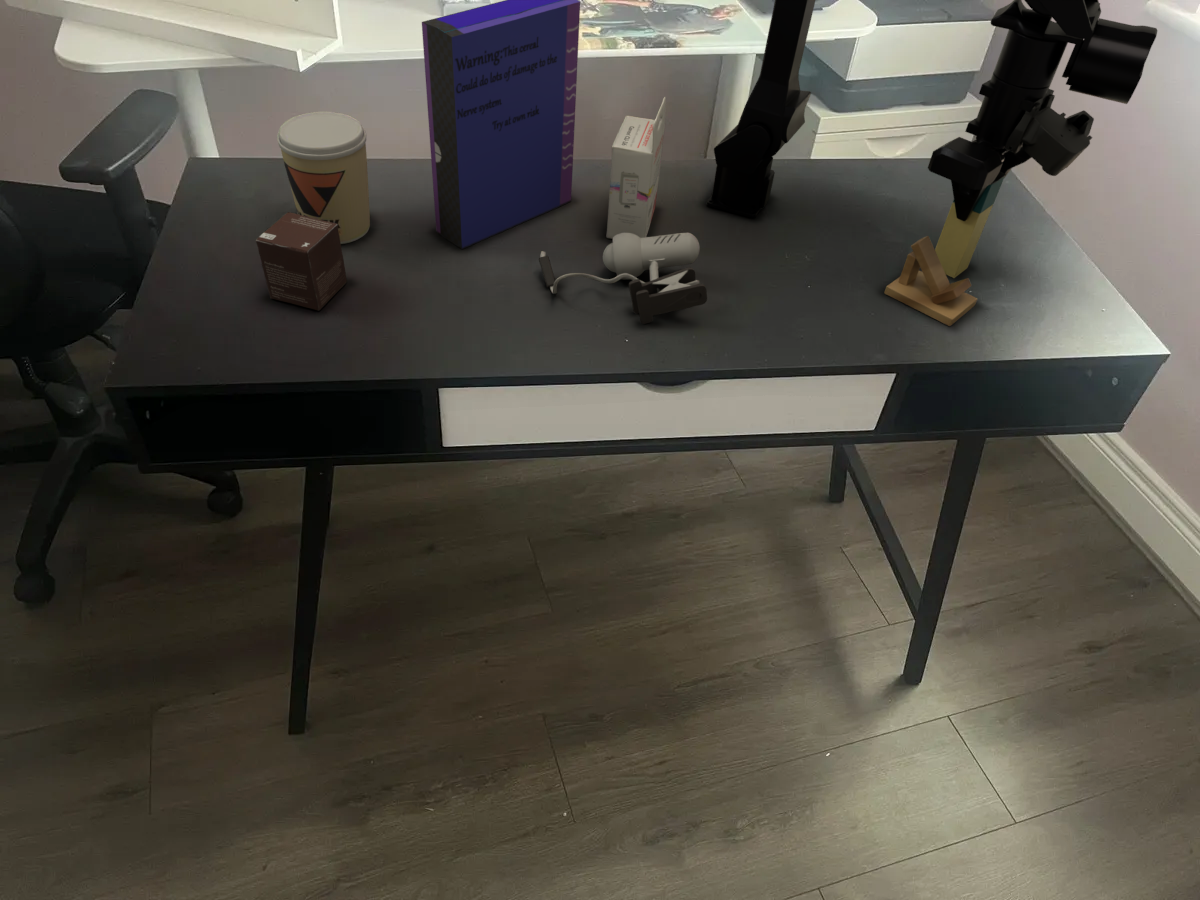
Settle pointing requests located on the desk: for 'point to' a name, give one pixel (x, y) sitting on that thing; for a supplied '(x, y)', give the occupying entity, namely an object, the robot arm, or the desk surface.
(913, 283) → the tan wooden stand
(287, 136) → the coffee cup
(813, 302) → the desk surface
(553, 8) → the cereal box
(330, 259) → the box
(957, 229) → the two-tone square bar
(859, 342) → the desk surface
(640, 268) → the clip-on lamp
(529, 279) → the desk surface
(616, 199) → the ink cartridge box
